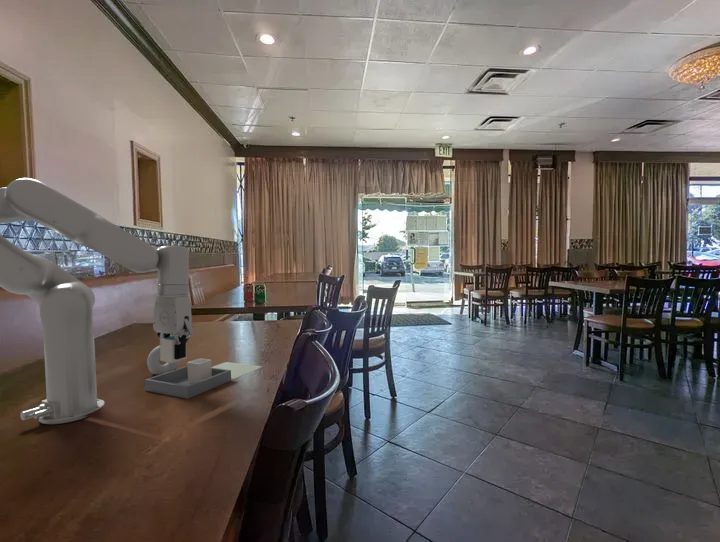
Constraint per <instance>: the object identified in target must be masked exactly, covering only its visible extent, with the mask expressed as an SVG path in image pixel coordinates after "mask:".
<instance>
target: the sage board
mask: <svg viewBox="0 0 720 542" xmlns="http://www.w3.org/2000/svg"><path fill="white" fill-rule="evenodd" d="M212 368H218V369H225V370H231V380H235V379H236V378H237V379H238V378H240V377H242V376H244V375H248V373H251V372H254V371H256V370H260V369H261V368H262V366H261V365H253V364H245V363H237V362H231V361H230V362H229V361H225V362H222V363H219V364H216V365H214V366H212Z"/></svg>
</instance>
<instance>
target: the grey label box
mask: <svg viewBox="0 0 720 542" xmlns="http://www.w3.org/2000/svg"><path fill="white" fill-rule="evenodd" d="M186 364H187V365H186V366H187V370H188V383H193V384H194V383H196V382H199V381H202V380H204V379H207V378H209V377H212V367H213V366H212V359H209V358H196V359H193V360H190V361H188V362H187V361H186Z"/></svg>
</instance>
